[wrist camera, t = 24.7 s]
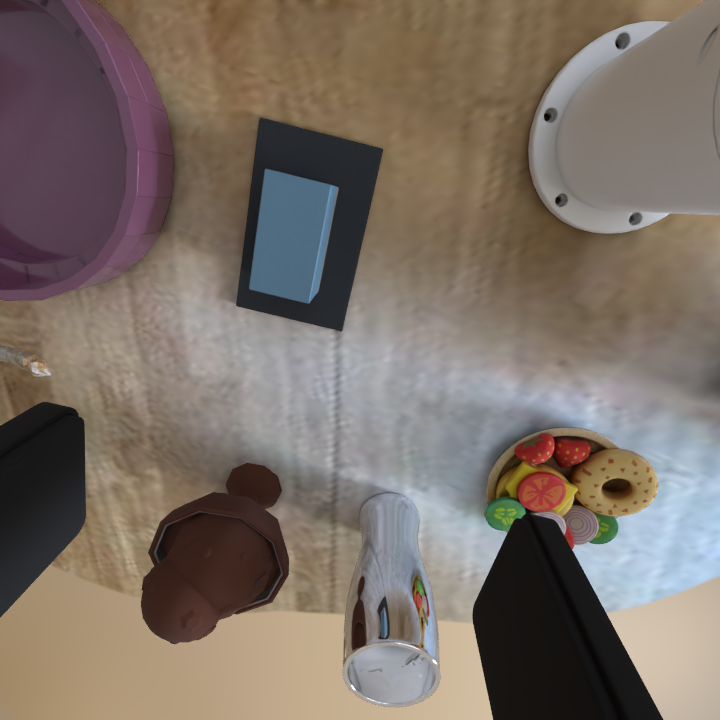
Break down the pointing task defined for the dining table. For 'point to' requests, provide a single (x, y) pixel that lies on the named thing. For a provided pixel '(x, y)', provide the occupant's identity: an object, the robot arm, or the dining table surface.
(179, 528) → the ice cream bowl
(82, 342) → the dining table surface
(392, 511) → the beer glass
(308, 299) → the block
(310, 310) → the rubber mat
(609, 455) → the toy food set
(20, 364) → the pine cone
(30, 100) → the serving bowl
